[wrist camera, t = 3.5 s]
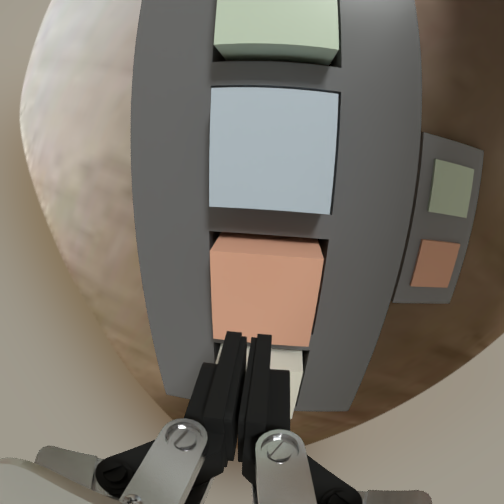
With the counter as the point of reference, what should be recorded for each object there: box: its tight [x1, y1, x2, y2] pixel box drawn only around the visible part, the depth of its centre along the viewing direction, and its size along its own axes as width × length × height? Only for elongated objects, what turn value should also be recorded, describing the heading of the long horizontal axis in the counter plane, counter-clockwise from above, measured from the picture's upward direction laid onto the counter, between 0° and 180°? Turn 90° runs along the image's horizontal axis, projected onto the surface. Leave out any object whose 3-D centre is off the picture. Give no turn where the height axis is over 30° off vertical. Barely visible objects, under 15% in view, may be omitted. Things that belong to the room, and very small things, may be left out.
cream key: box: [215, 343, 303, 419], centre depth 17 cm, size 5×5×3 cm
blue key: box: [209, 87, 338, 215], centre depth 12 cm, size 5×5×3 cm
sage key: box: [214, 0, 339, 65], centre depth 9 cm, size 5×5×3 cm
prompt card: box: [391, 132, 484, 303], centre depth 15 cm, size 5×11×1 cm, turn 178°
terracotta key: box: [210, 232, 324, 347], centre depth 15 cm, size 5×5×3 cm
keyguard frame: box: [131, 0, 422, 411], centre depth 15 cm, size 14×28×3 cm, turn 178°
